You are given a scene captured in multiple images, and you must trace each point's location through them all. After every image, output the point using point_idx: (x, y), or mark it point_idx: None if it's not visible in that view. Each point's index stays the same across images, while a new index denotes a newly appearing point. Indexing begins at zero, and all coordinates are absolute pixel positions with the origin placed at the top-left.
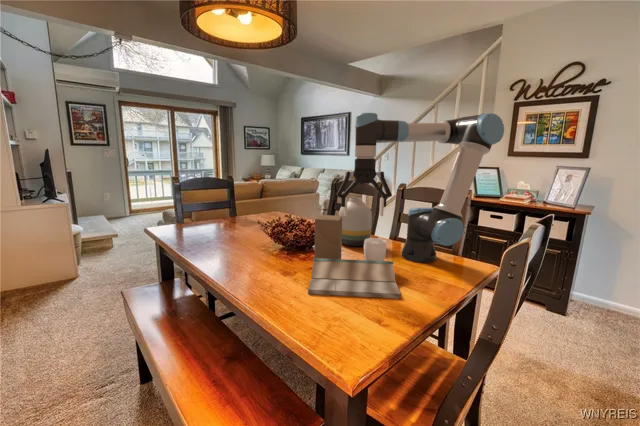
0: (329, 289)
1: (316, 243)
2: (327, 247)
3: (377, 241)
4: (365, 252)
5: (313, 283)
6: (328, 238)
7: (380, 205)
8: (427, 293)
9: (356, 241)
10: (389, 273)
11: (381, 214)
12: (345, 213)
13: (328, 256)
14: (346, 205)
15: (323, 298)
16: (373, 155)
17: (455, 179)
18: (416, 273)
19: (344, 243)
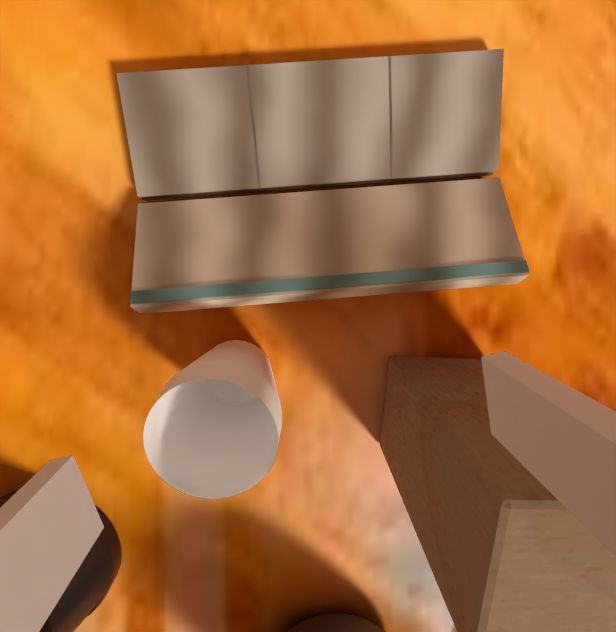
0: (414, 64)
1: None
2: (475, 392)
3: (204, 484)
4: (271, 381)
5: (485, 117)
6: None
7: (3, 616)
8: (14, 155)
9: (322, 629)
10: (158, 237)
11: (59, 468)
12: (521, 363)
13: (448, 373)
14: (598, 420)
15: (429, 24)
16: None
17: None
18: (58, 361)
19: (374, 624)
